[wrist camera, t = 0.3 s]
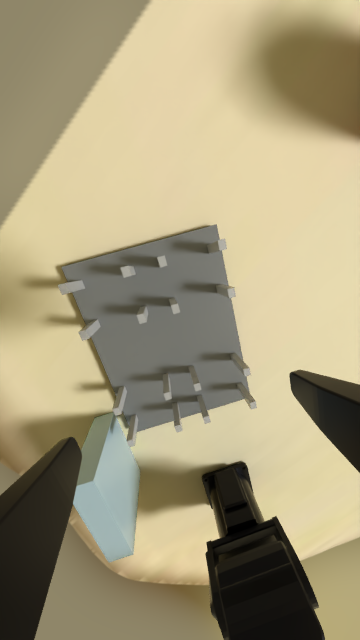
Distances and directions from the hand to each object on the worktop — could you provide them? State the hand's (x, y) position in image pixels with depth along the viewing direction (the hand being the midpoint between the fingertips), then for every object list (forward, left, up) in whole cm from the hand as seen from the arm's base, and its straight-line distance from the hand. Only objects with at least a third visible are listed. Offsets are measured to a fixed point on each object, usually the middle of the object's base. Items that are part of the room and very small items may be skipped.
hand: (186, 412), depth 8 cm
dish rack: (-2, +1, -14) cm, 14 cm away
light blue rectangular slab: (-14, +11, -14) cm, 23 cm away
